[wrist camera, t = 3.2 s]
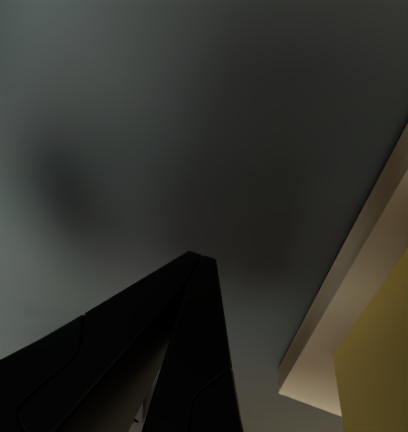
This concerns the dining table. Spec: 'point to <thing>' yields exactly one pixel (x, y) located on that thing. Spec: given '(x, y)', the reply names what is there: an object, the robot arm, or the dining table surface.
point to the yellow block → (377, 360)
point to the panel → (349, 287)
